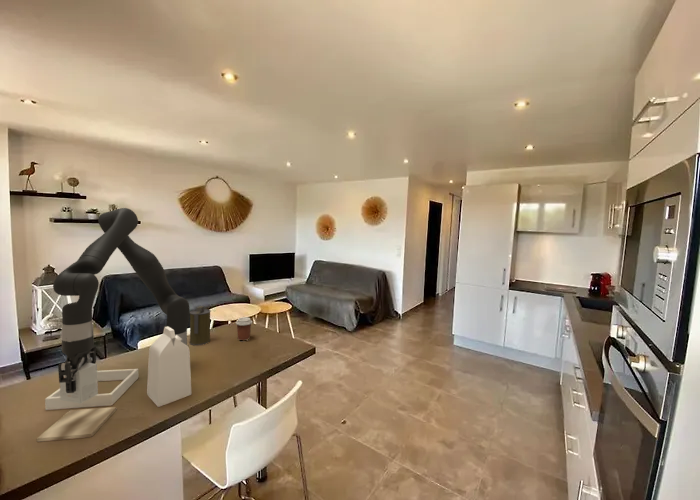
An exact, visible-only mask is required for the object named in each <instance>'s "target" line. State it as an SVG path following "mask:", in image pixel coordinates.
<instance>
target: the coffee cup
mask: <svg viewBox="0 0 700 500" xmlns="http://www.w3.org/2000/svg"><path fill="white" fill-rule="evenodd" d="M252 324H253V320H251V318H250V317H249V316H248V317H247V316H246V317H244V316H243V317H238V319H237V320H236V321H235V325H236V330H237V331H236V332H237V340H238V339H239V340H247V339H249V338H250V337H251V336H250V335H251V329H252ZM249 340H250V339H249ZM247 341H248V340H247Z"/></svg>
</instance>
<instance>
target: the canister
mask: <svg viewBox="0 0 700 500" xmlns="http://www.w3.org/2000/svg"><path fill="white" fill-rule="evenodd" d="M208 342H209V343H210V342H211V309H210V308H209V309H208V308H205V306H204V305H198V306H196V307H195V309H193V310H191V311H190V310H189V344H190V345H192V346H203V344H204V345H207V344H208ZM206 343H207V344H206Z"/></svg>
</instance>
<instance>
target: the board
mask: <svg viewBox="0 0 700 500" xmlns="http://www.w3.org/2000/svg"><path fill="white" fill-rule="evenodd" d="M117 409H118V408H117V406H112V407H110V406H109V407H98V408H95V407H94V408H84V409H82V408H81V409H70V410H68V411H67V412H66V413H65V414H63V416H61V417H60V418H59V419H58V420H56V422H54V423H53V424H52V425H51V426H49V428H47V429H46V430H45V431H44V432H42V433H41V434H40V435H39V436H38V437H37V438H36V442H38V443H39V442H49V441H59V440H60V441H61V440H72V439H83V438H92V437H93V436H94V435H95V434H96V433H97V432H98V430H100V428H101V427H102V426H103V425H104V424H105V423H106V422H107V421H108V420H109V418H110V417H111V416H112V415H114V413H115V412H116V411H117Z"/></svg>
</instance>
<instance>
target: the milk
mask: <svg viewBox="0 0 700 500" xmlns="http://www.w3.org/2000/svg"><path fill="white" fill-rule="evenodd" d="M163 329H164V333H162V334H161V335H160V336H159V337H158V338H157V339H156V340H155V341H154V342H152V344H151V345H150V346H149V349H148V364H147V365H148V366H147V383H146V384H147V387H146V396H148V397H149V399H151V401H152V403H154V404H155V406H157V408H160V407H162V406H164V405H168V404H171V403H173V402H175V401H178V400H181V399H183V398H185V397H188V396H191V395H192V378H191V376H192V374H191V357H190V356H191V353H190V351H191V350H190V348H188V346H189V345H188V344H187V345H188V346H187V345H185V344H184V343H182V342H181V340H182V338H180V337H179V336H177V335H176V336H175V332H174V330H173V329H172V328H170V327H164V326H163Z"/></svg>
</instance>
